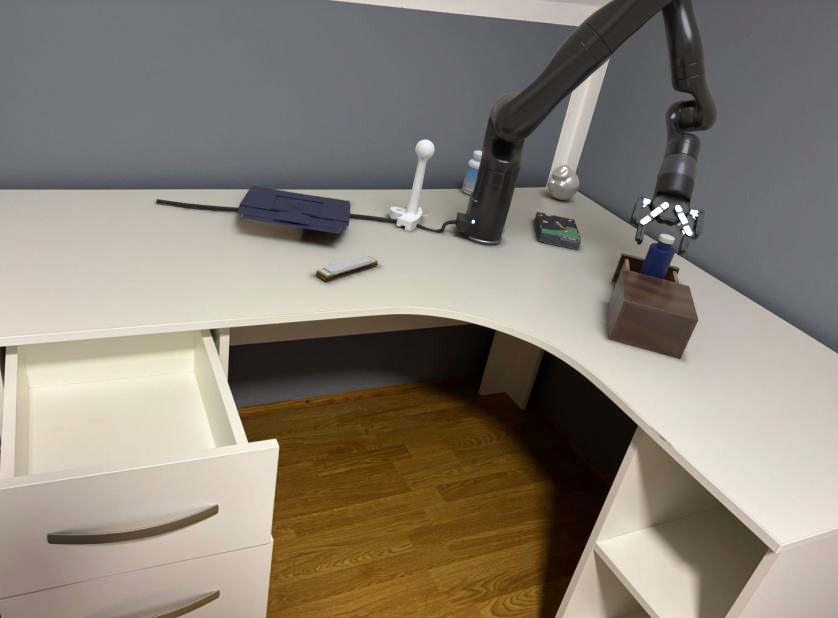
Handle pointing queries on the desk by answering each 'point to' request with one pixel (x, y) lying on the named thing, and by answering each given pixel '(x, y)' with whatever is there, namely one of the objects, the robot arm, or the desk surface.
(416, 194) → the joystick
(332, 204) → the laptop stand
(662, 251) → the bottle
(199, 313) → the desk surface
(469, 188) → the pill bottle
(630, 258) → the drawer
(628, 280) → the cabinet
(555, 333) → the desk surface
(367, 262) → the harmonica
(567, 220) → the disk drive
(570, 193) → the silver rounded lump
